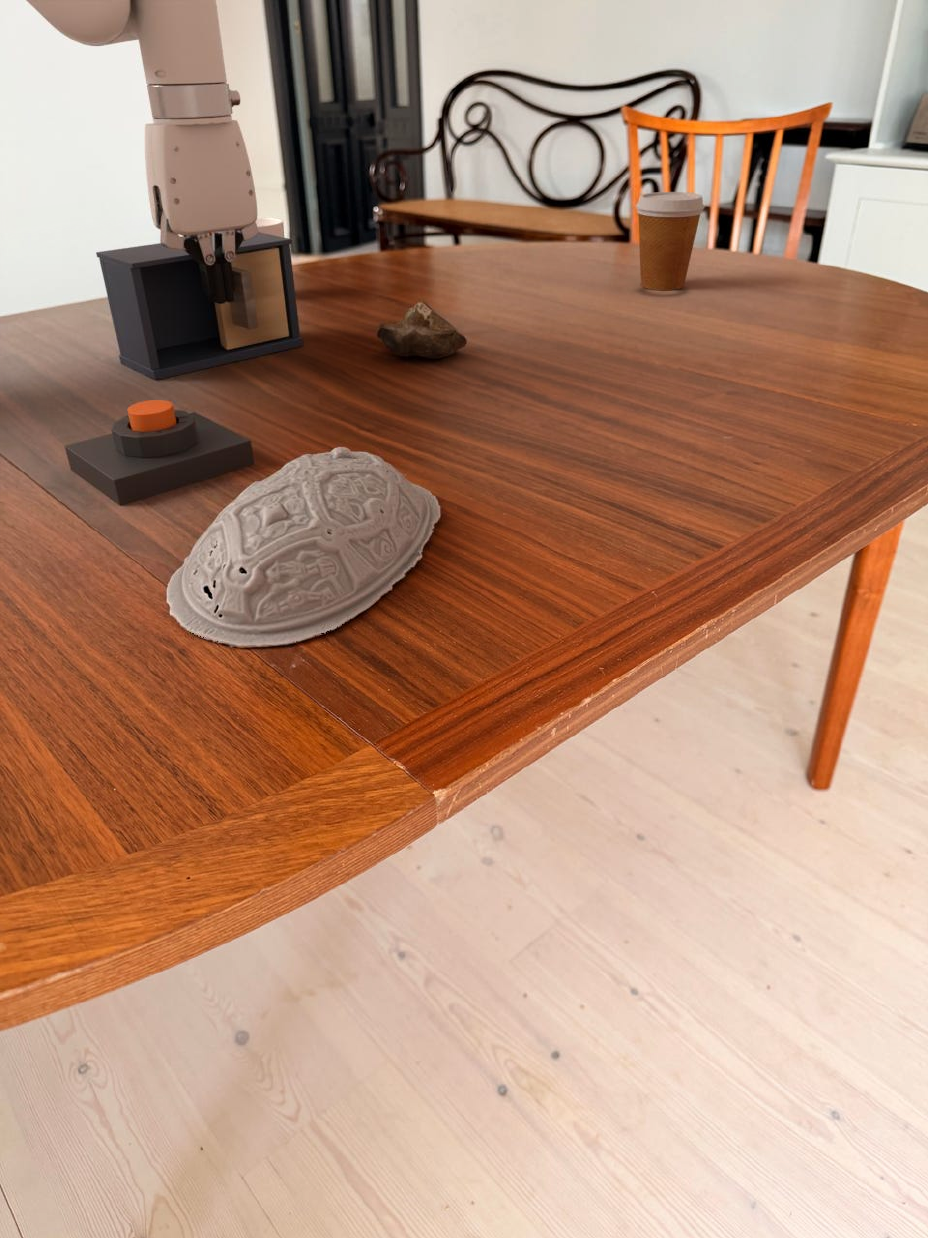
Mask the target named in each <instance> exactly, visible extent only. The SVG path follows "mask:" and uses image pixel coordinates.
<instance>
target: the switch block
mask: <svg viewBox="0 0 928 1238" xmlns="http://www.w3.org/2000/svg"><path fill="white" fill-rule="evenodd" d="M174 413H175V418H176V423H177V424H176V425H174V426H173V427H170V428H166V429H163V430H159V431H148V432H140V431H133V430H132V428H131V424H130V419H129V415H128V414H127V415H125V416H123V417H122V418H120V419H118V420H116V421H115V422H113V425H112V427H111V433H108V434H106V435H102V436H97V437H94V438H90V439H87V440H82V441H78V442H73V443H70V444H66V445H64V451H65V453H66V457H67V461H68V465H69V468H70V471H71V472H73V473H75V474H76V475H77V476H78V477H80V478H81V479H83V480H84V481H86V482H87V483H88V484H90V485H91V486H92V487H94V488H95V489H96V490H98V491H99V492H101V493H102V494H103V495H104V496H106V497H107V498H108V499H110V500H112V501H113V502H114V503H116V504H117V505H118V506H120V507H121V506H124V505H128V504H131V503H135V502H138V501H141V500H144V499H147V498H150V497H153V496H158V495H160V494H163V493H166V492H170V491H173V490H176V489H180V488H183V487H186V486H189V485H192V484H195V483H199V482H202V481H206V480H209V479H212V478H215V477H219V476H221V475H226V474H229V473H231V472H235V471H238V470H242V469H245V468H248V467H251V466H254V465H255V459H254V454H253V453H254V452H253V446H252V445H253V444H252V441H251V440H250V439H248V438H246V437H245V436H243V435H240V434H239V433H236V432H234V431H233V430H232V429H229V428H227V427H225V426H223V425H221V424H219V423H217V422H215V421H213V420H212V419H209V418H207V417H206V416H203V415H201V414H200V413H197V412H195V411H193V412H190V413H189V412H187V411H186V410H181V409H179V410H178V409H174Z"/></svg>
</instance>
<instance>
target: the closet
mask: <svg viewBox="0 0 928 1238" xmlns="http://www.w3.org/2000/svg"><path fill="white" fill-rule="evenodd" d="M209 239H210V242H211V246H212V235H209ZM292 244H293V242H292V238H288V237H284V238H283V237H279V236H274V235H270V234H265V233H261V232H258V235H257V236H255V237H253V238H250V239H248V240H246V241H243V242H242V243H241V245H240V246H239V248H238V250H237V251H236V253H240V252H246V251H253V250H259V249H266V248H272V247H277V248H279V256H280V264H281V273H282V281H283V289H284V298H285V306H286V314H287V323H288V331H289V336H288V337H283V338H279V339H274V340H270V341H265V342H261V343H257V344H252V345H248V346H243V347H239V348H234V349H230V350H227V349H225V347H224V341H223V334H222V328H221V322H220V315H219V309H218V303H215V302H212V301H209V300H208V299H207V295H205V294H204V291H203V287H202V281H201V275H200V269H199V263H198V262H196V261H195V260H194V259H193V257H191V256H190V255H189V254H188V253H187V252H185V251H184V250H179V249H171V248H167V247H164V246H162V245H161V242H159V243H152V244H145V245H138V246H129V247H123V248H117V249H110V250H103V251H97V252H96V253H95V254H96V258H98V260H99V265H100V269H101V273H102V278H103V281H104V288H105V292H106V295H107V300H108V305H109V309H110V314H111V318H112V319H111V320H112V323H113V328H114V332H115V336H116V340H117V345H118V351H119V354H118V357H119V363H120V364H122V365H123V366H125V367H127V368H129V369H131V370H134V371H136V372H138V373H139V374H142V375H144V376H146V377H148V378H149V379H152V380H154V381H158V380H162V379H167V378H171V377H175V376H179V375H183V374H184V375H185V374H188V373H193V372H197V371H202V370H205V369H210V368H214V367H218V366H224V365H226V364H231V363H235V362H241V361H244V360H249V359H253V358H257V357H262V356H265V355H271V354H275V353H279V352H283V351H287V350H293V349H295V348H300V347H303V346H304V341H303V337H301V332H300V323H299V315H298V306H297V298H296V297H297V296H296V288H295V281H294V271H293V270H294V269H293V262H292V252H291V245H292Z"/></svg>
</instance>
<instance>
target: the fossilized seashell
mask: <svg viewBox="0 0 928 1238" xmlns="http://www.w3.org/2000/svg"><path fill="white" fill-rule="evenodd" d="M378 327H379V328H378V330H377V333H376V337H377V338H378V339H379V340H381V341H382V343H383V345H384V346H385V347H386V349H387V350H389V351H390V352H391V353H393V354H394V355H395V356H400V357H407V358H408V357H413V356H418V357H422V358H425V359H426V358H427V359H429V360H430V359H433V360H438V359H439V360H440V359H441V358H447V357H450V356H452V355H454V353H457V352H458V351H459V350H461V349H463V348H464V347H466V345H467V344H468V340H467V338H466V337H465V336H464V334H462V333H461V331H460V330H458V329H457V328H456V327H455V326H454V324H453V325H452V323H450V322H449V321H448V320H446V318H444V317H443V316H441V315H440V314H438V313H437V312H435V310H434V309H433V308H432V307H431V306H430V305H429V304H428V303H427V302H426V301H423V300H422V301H418V302H417V303H416V304H415V305H413V307H409V308H407V309H406V311H405V316H404V318H403V319H401V320H400V321H397V322H396V323H394V324H393V323H383V322H380V323H379V324H378Z"/></svg>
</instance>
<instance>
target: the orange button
mask: <svg viewBox="0 0 928 1238" xmlns="http://www.w3.org/2000/svg"><path fill="white" fill-rule="evenodd" d="M174 410H175V409H174V404H173V403H172V402H171V401H168V400H164V399H153V400H152V399H149V400H143V401H139V402H136V403H134V404H133V403H132V404H131V405H130V406H129V407H128V408H127V416H128V415H129V419H130V424H131V428H132V430H133V431H140V432H148V431H159V430H163V429H166V428H170V427H173V426H174V425H176V424H177V423H176V418H175V413H174Z"/></svg>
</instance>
